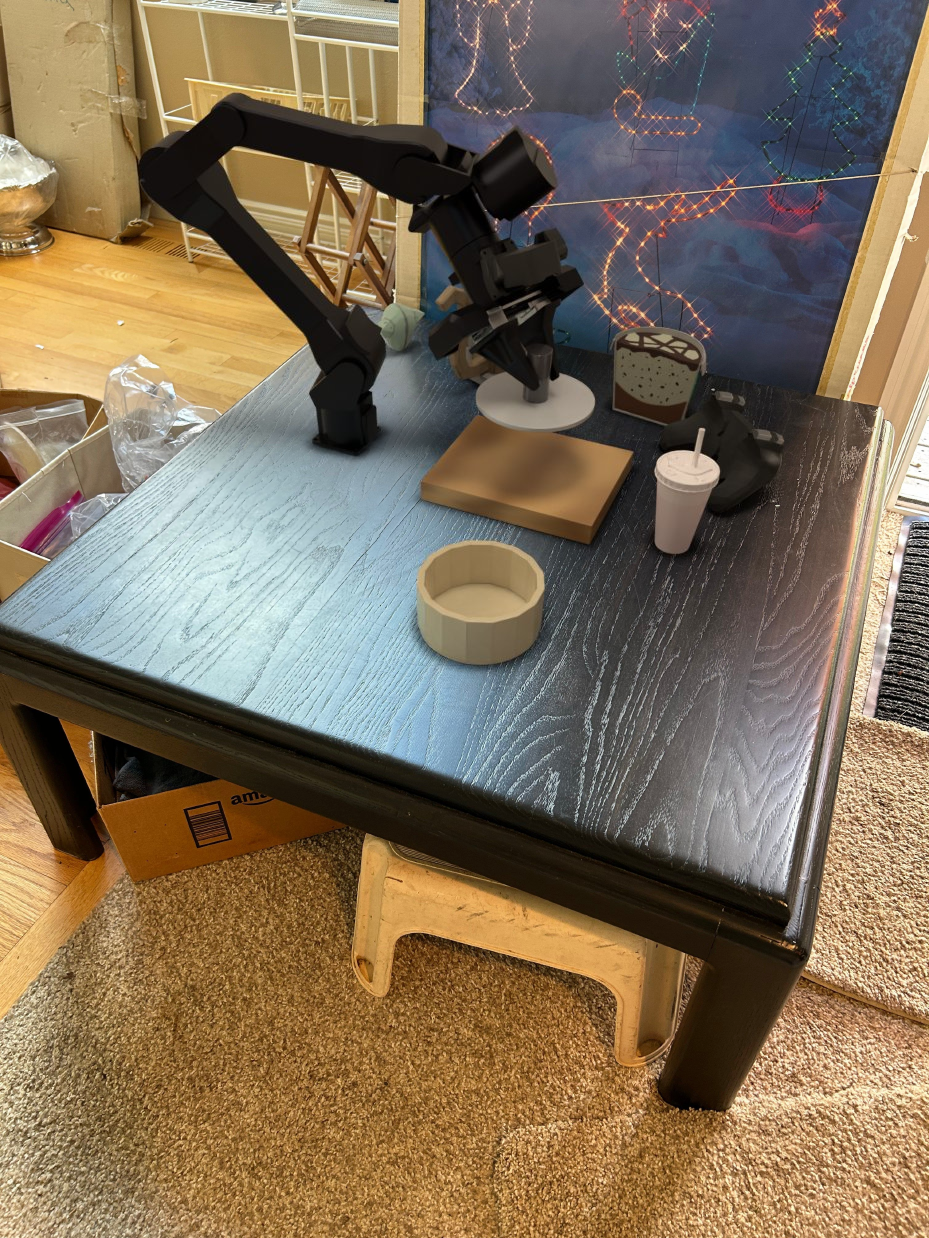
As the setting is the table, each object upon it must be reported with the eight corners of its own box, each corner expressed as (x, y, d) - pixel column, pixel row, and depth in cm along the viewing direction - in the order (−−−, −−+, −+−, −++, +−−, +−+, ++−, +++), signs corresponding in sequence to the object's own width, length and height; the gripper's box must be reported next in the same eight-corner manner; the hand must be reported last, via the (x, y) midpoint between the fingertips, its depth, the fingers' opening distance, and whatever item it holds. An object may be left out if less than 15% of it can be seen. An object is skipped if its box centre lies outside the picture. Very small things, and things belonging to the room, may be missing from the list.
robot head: (386, 363, 126) (384, 317, 122) (367, 353, 128) (364, 307, 124) (428, 346, 130) (428, 300, 126) (410, 336, 132) (408, 291, 128)
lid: (472, 434, 93) (473, 376, 89) (478, 375, 102) (480, 319, 98) (596, 441, 93) (604, 382, 88) (591, 380, 102) (598, 325, 97)
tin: (397, 642, 85) (395, 599, 81) (449, 570, 93) (449, 528, 89) (513, 680, 82) (516, 637, 78) (557, 601, 90) (561, 559, 86)
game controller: (754, 530, 103) (811, 458, 98) (712, 515, 100) (769, 440, 95) (690, 455, 115) (739, 387, 109) (650, 439, 111) (698, 369, 106)
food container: (708, 413, 117) (724, 340, 110) (690, 434, 113) (706, 360, 107) (622, 387, 122) (632, 316, 115) (602, 406, 118) (611, 334, 111)
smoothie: (701, 565, 94) (730, 450, 85) (640, 557, 95) (661, 442, 85) (702, 529, 99) (729, 416, 89) (643, 521, 100) (664, 408, 90)
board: (420, 499, 102) (420, 481, 100) (476, 432, 113) (476, 414, 111) (589, 544, 96) (591, 526, 95) (630, 469, 107) (633, 451, 106)
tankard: (508, 339, 132) (513, 235, 122) (572, 370, 125) (583, 262, 115) (404, 384, 122) (400, 274, 112) (468, 420, 115) (470, 306, 105)
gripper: (448, 229, 81) (532, 384, 83) (579, 183, 91) (651, 323, 93) (392, 288, 90) (469, 427, 92) (516, 241, 100) (583, 367, 102)
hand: (546, 384), depth 95 cm, fingers closed on lid, 3 cm apart
